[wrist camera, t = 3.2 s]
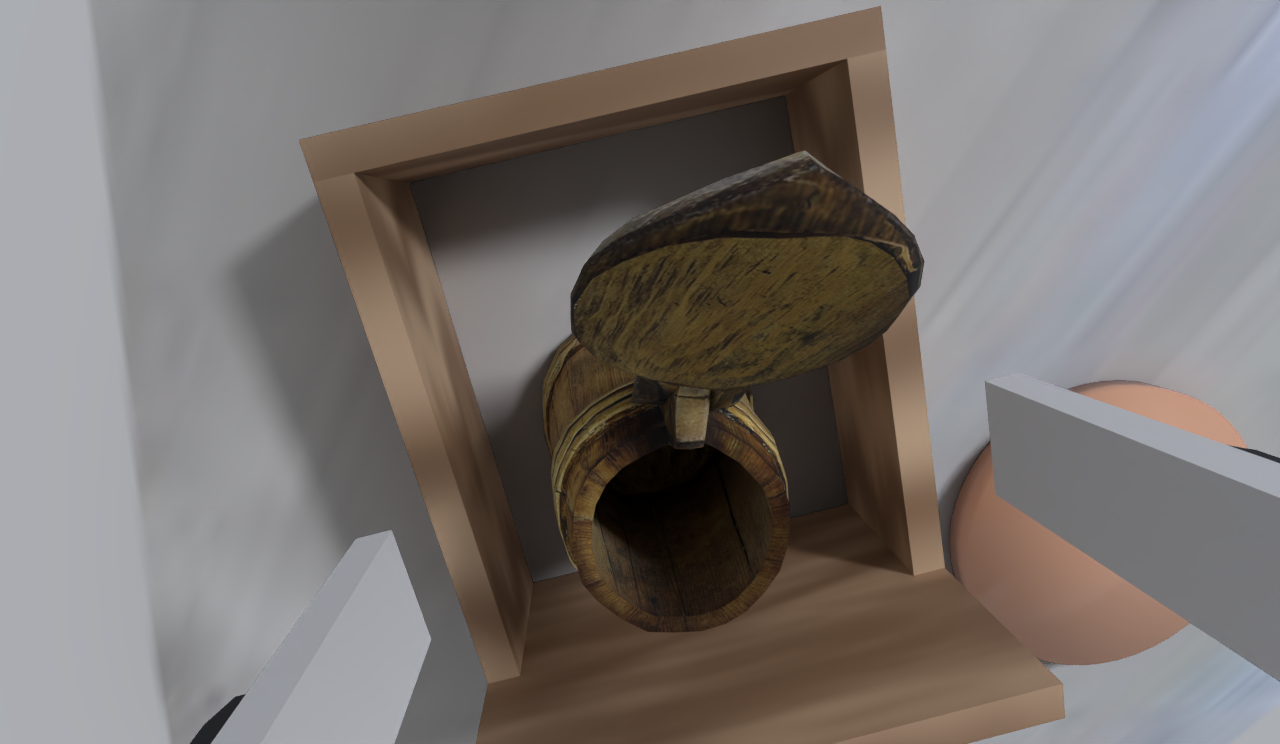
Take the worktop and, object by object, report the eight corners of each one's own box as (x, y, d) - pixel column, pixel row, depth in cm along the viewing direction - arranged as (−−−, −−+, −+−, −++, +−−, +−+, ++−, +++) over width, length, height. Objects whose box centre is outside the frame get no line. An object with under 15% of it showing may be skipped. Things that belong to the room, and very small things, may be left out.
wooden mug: (767, 198, 26) (1153, 167, 8) (738, 505, 29) (971, 948, 11) (545, 186, 25) (454, 123, 7) (541, 503, 28) (469, 979, 11)
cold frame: (368, 157, 24) (164, 105, 12) (810, 55, 24) (1015, -88, 13) (514, 611, 29) (468, 874, 18) (876, 520, 30) (1065, 718, 18)
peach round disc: (935, 421, 29) (953, 432, 27) (1227, 348, 29) (1261, 355, 28) (963, 673, 32) (980, 695, 31) (1223, 606, 33) (1252, 624, 31)
